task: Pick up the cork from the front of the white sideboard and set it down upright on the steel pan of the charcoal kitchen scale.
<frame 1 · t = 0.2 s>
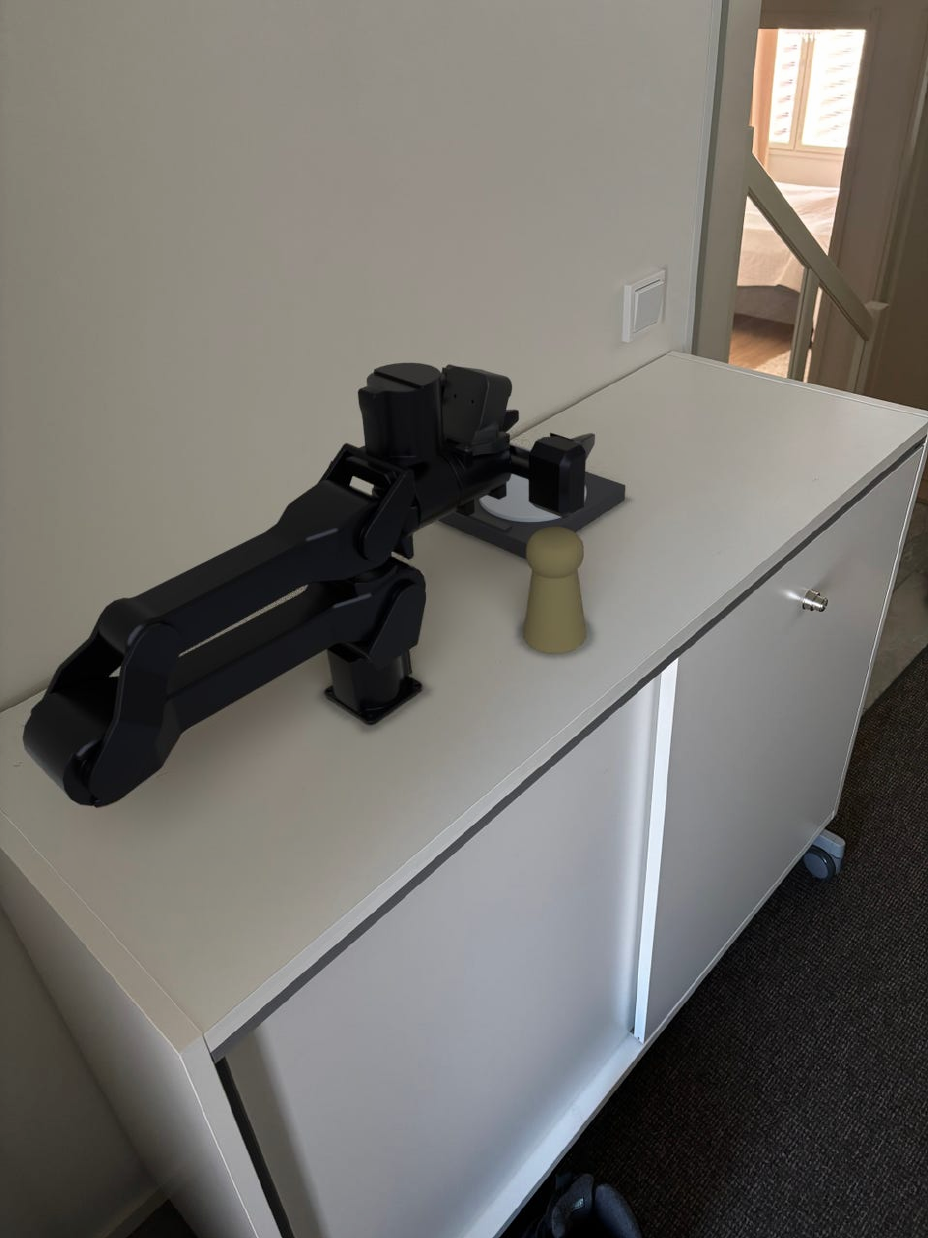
hand: (554, 426, 87), 16 cm above the cabinet top, tool horizontal, fingers open, 9 cm apart
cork: (554, 635, 88), on the cabinet top
scale: (532, 510, 107), on the cabinet top
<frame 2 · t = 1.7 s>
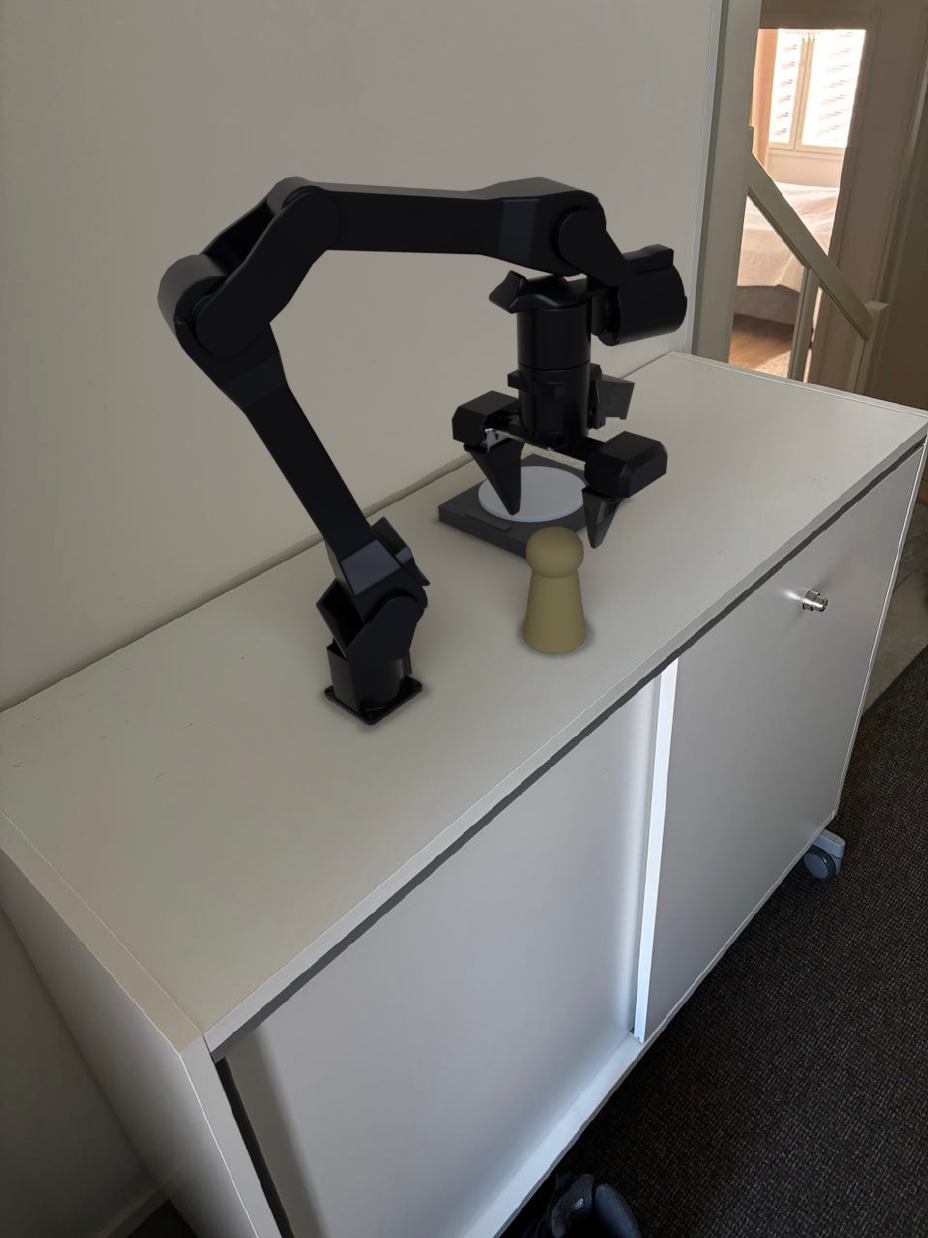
hand: (554, 529, 81), 12 cm above the cabinet top, tool pointing down, fingers open, 9 cm apart
nothing on the cabinet top moved.
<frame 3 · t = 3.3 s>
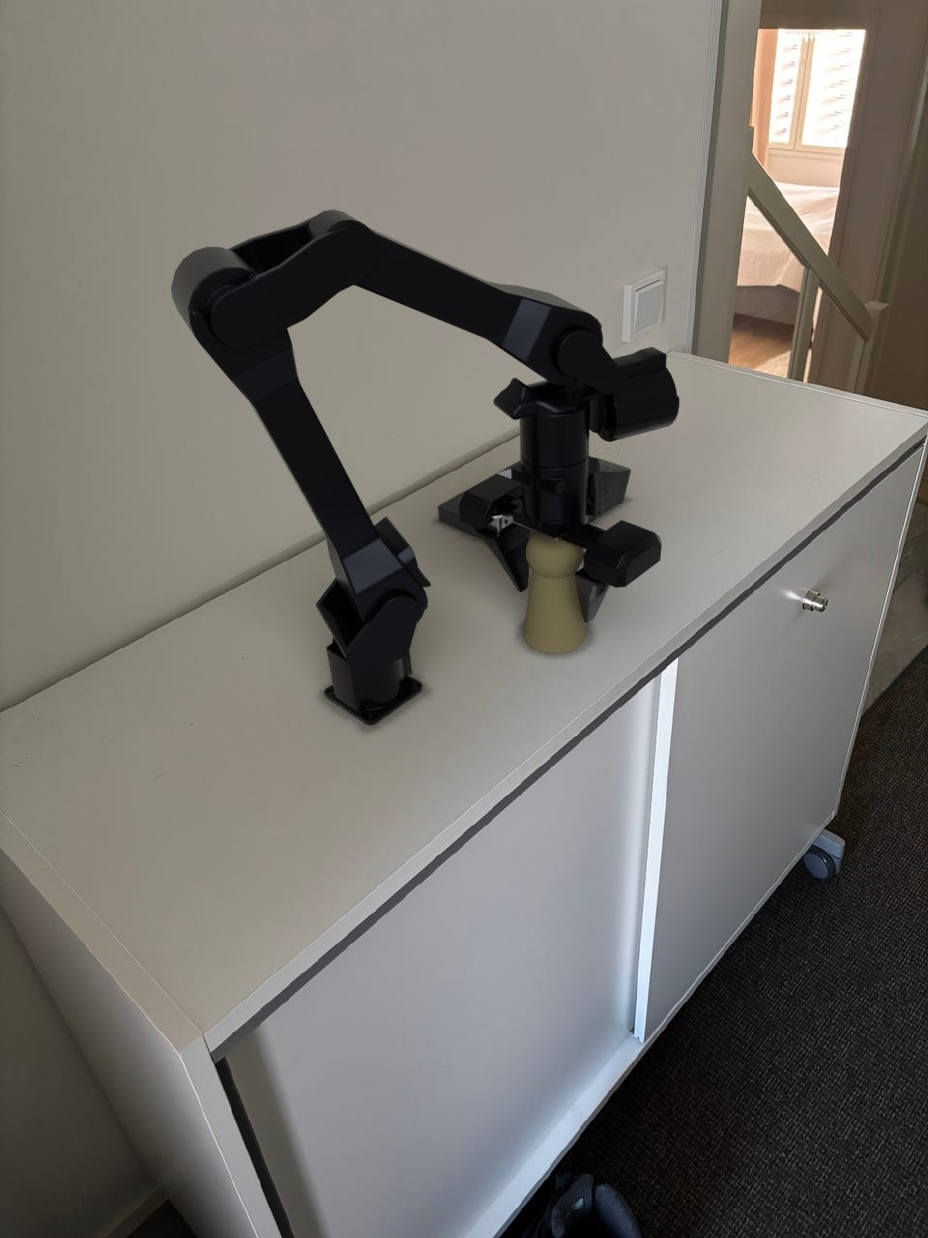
hand: (555, 604, 86), 3 cm above the cabinet top, tool pointing down, fingers closed on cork, 7 cm apart
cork: (554, 635, 88), on the cabinet top, touching gripper
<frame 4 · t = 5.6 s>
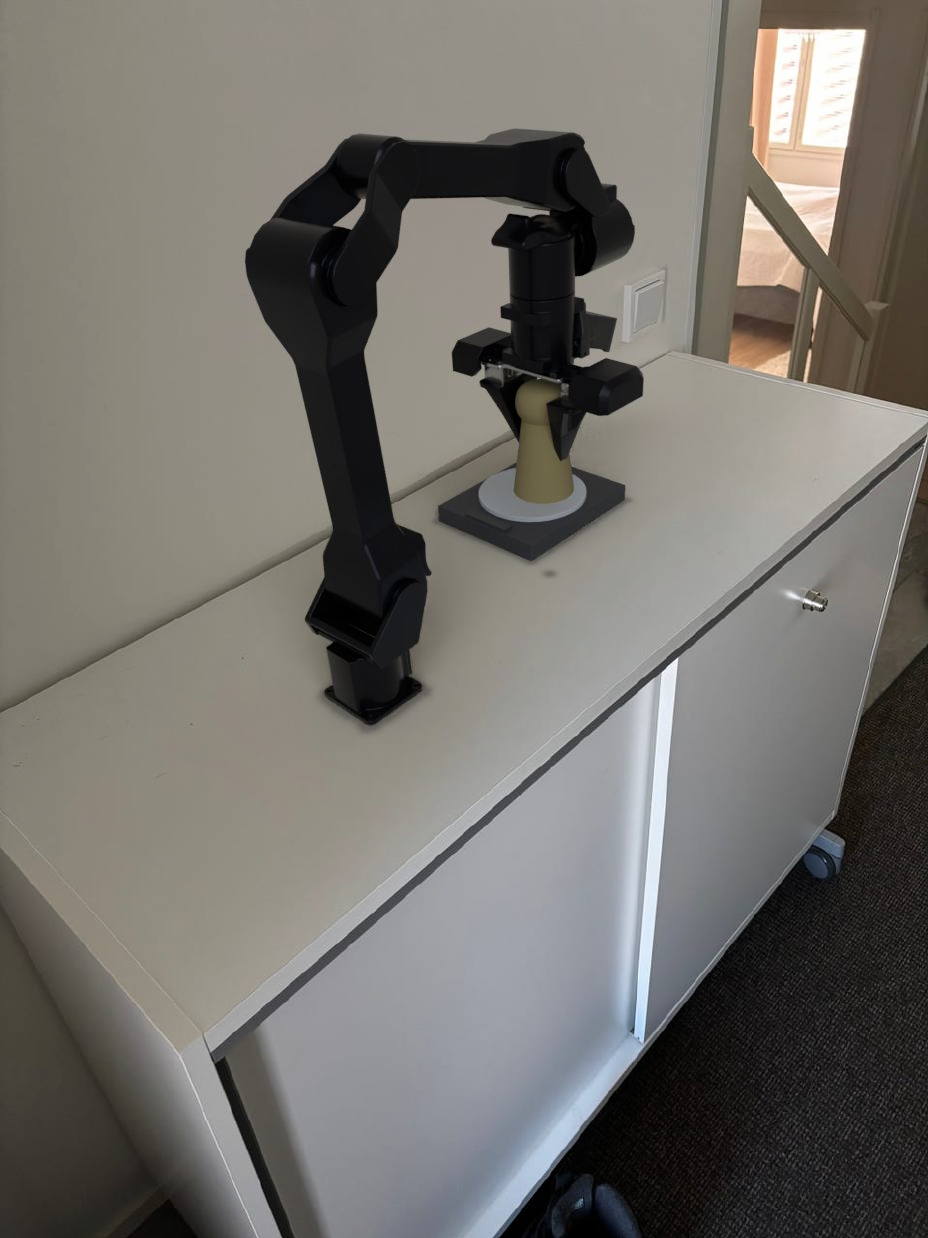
hand: (544, 453, 90), 13 cm above the cabinet top, tool pointing down, fingers closed on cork, 4 cm apart
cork: (543, 490, 92), point 9 cm above the cabinet top, touching gripper
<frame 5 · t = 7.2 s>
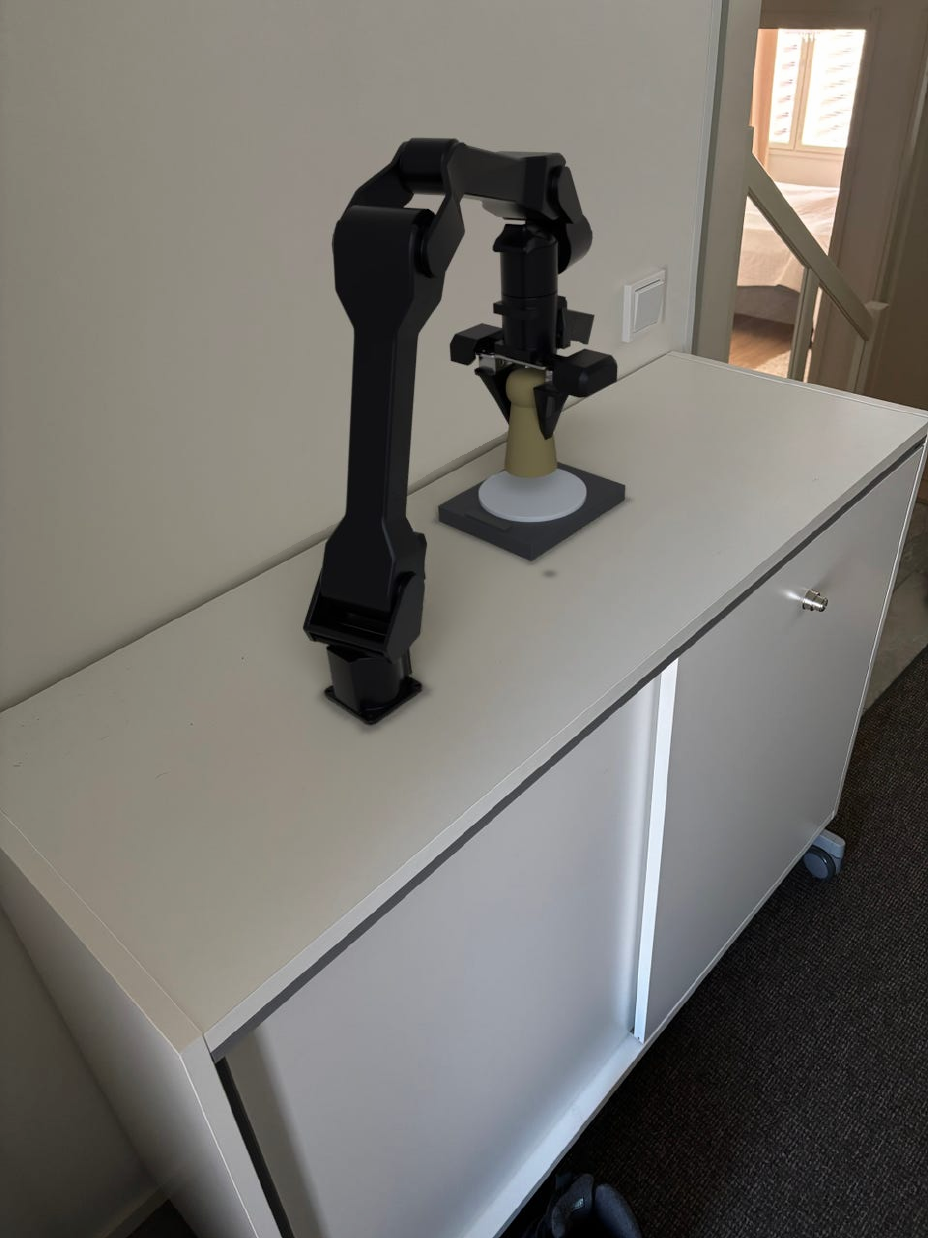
hand: (531, 433, 102), 10 cm above the cabinet top, tool pointing down, fingers closed on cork, 4 cm apart
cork: (530, 467, 104), point 6 cm above the cabinet top, touching gripper
when the fingers open (6 cm above the cabinet top, at t = 8.3 s): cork stays where it is, resting on scale.
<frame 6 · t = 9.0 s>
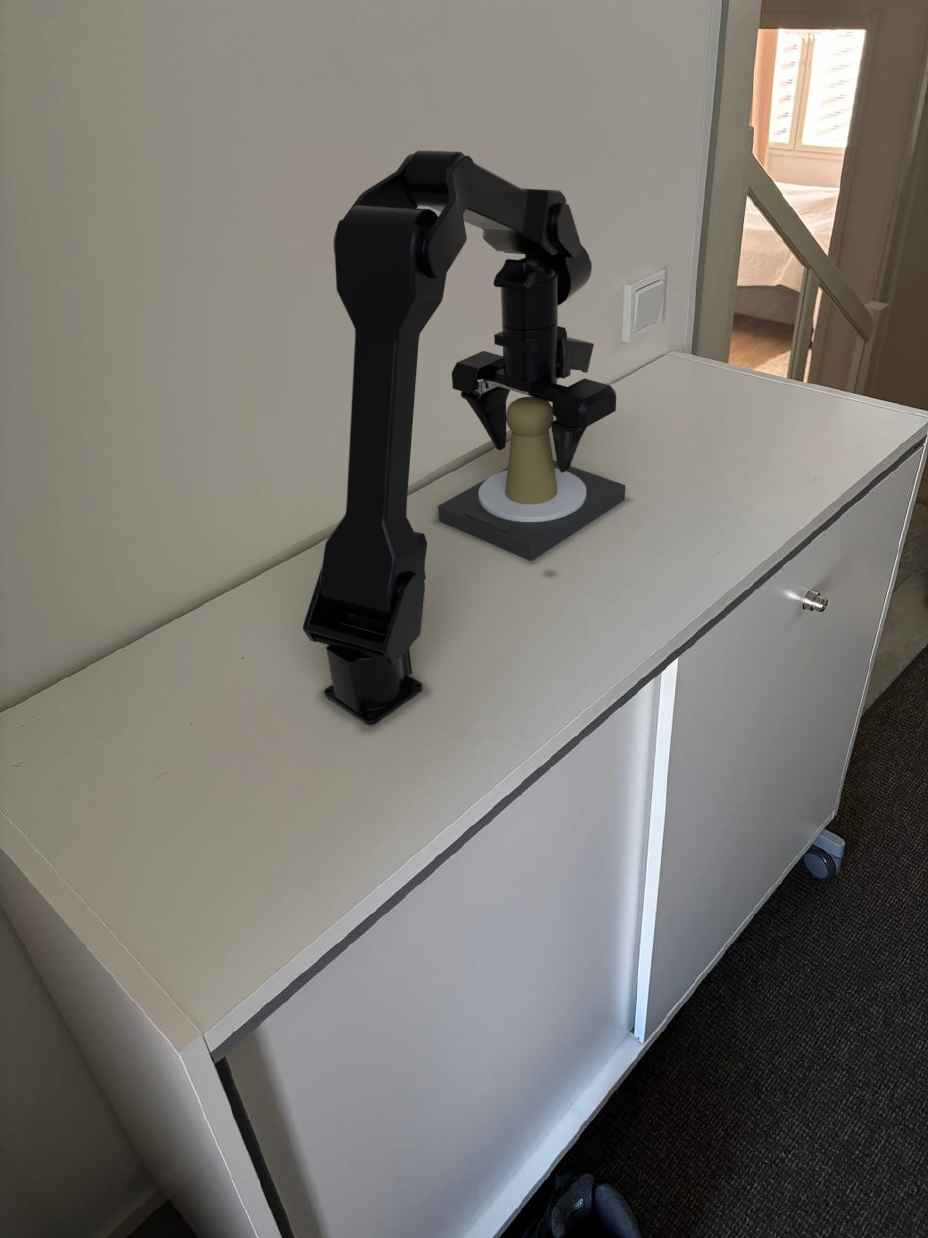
hand: (531, 459, 104), 7 cm above the cabinet top, tool pointing down, fingers open, 9 cm apart
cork: (531, 493, 106), point 2 cm above the cabinet top, touching scale
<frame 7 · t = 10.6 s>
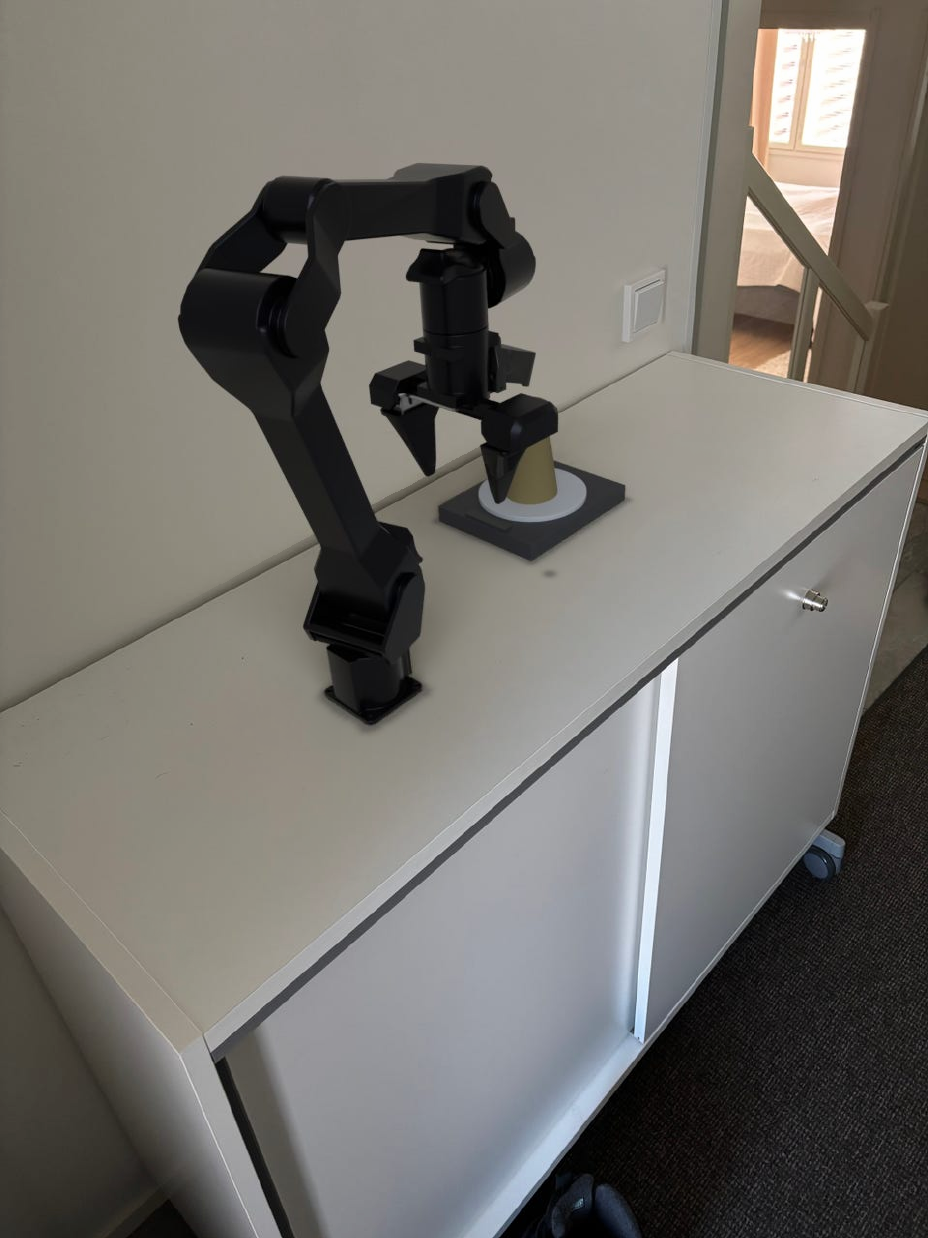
hand: (464, 488, 88), 12 cm above the cabinet top, tool pointing down, fingers open, 9 cm apart
nothing on the cabinet top moved.
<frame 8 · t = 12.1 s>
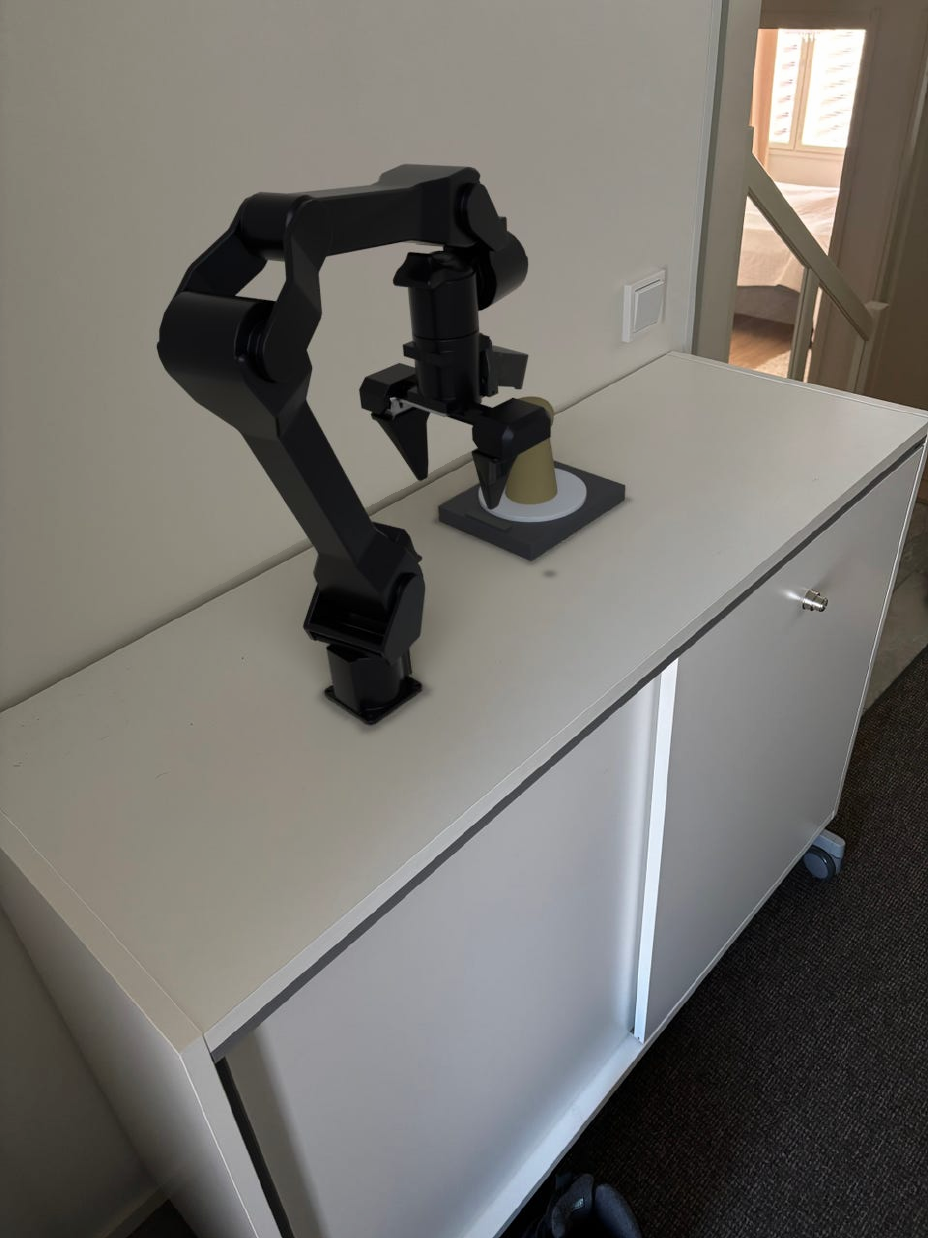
hand: (456, 492, 87), 12 cm above the cabinet top, tool pointing down, fingers open, 9 cm apart
nothing on the cabinet top moved.
at the end: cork inside the target area on the scale (0.3 cm from its centre), point 2.4 cm above the scale's base; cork tilted 0°; the gripper is holding nothing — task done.
